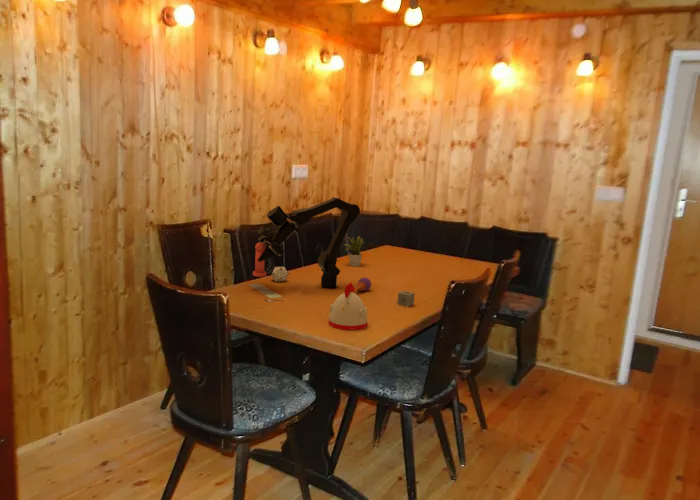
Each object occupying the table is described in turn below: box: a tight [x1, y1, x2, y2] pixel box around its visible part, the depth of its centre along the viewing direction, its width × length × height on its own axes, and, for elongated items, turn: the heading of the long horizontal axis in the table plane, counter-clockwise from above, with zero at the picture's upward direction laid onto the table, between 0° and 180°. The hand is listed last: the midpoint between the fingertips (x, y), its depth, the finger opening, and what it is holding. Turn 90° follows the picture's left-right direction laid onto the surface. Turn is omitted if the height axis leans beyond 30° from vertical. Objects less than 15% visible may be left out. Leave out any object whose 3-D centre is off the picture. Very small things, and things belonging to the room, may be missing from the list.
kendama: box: [354, 277, 372, 294], centre depth 245 cm, size 6×6×20 cm
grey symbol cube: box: [397, 290, 416, 308], centre depth 232 cm, size 5×5×5 cm
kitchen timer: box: [328, 282, 368, 331], centre depth 201 cm, size 14×14×15 cm
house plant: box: [343, 235, 368, 267], centre depth 304 cm, size 14×14×16 cm
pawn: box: [252, 241, 267, 278], centre depth 238 cm, size 6×6×14 cm
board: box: [248, 283, 283, 303], centre depth 238 cm, size 27×9×1 cm, turn 32°
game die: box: [269, 265, 291, 283], centre depth 256 cm, size 9×8×10 cm
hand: (256, 260), depth 237 cm, fingers closed on pawn, 4 cm apart
